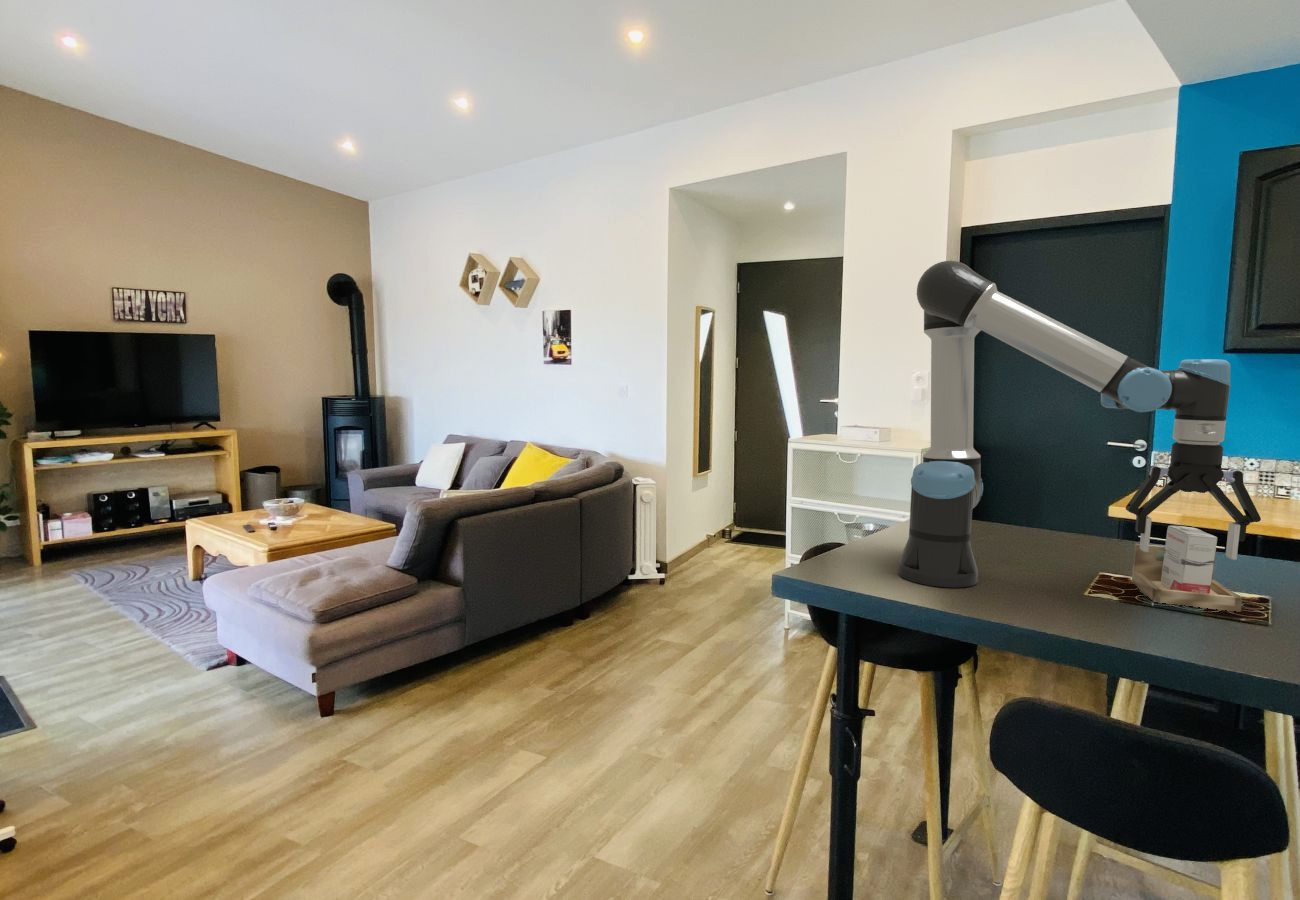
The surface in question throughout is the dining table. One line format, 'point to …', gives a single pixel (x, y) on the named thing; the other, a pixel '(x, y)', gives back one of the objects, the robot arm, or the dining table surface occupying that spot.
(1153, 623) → the dining table surface
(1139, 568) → the drawer
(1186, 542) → the ink box
